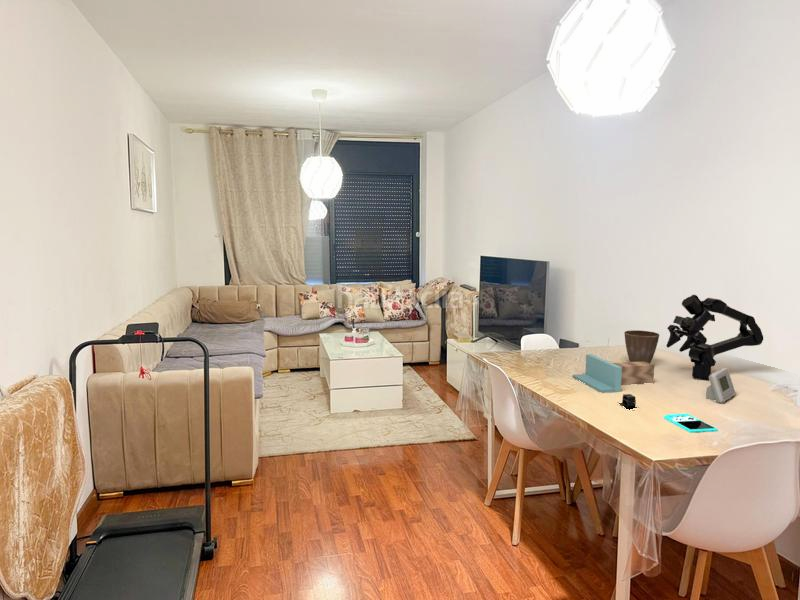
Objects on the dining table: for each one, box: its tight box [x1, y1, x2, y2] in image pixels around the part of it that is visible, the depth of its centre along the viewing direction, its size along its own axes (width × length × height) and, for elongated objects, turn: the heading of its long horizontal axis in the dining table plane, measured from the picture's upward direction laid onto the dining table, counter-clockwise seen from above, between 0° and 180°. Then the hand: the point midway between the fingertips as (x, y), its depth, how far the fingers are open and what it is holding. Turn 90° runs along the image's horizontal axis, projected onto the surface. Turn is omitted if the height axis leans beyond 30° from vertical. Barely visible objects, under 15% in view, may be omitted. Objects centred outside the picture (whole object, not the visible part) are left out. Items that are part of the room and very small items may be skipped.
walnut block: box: [612, 361, 655, 386], centre depth 240 cm, size 16×7×8 cm, turn 100°
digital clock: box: [705, 367, 736, 404], centre depth 217 cm, size 16×9×11 cm, turn 123°
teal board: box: [571, 353, 622, 394], centre depth 237 cm, size 8×24×10 cm, turn 10°
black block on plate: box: [618, 393, 638, 410], centre depth 208 cm, size 12×7×5 cm, turn 6°
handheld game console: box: [663, 413, 719, 434], centre depth 190 cm, size 10×16×1 cm, turn 8°
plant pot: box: [624, 329, 660, 364], centre depth 266 cm, size 15×15×16 cm
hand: (673, 348), depth 242 cm, fingers open, 8 cm apart
